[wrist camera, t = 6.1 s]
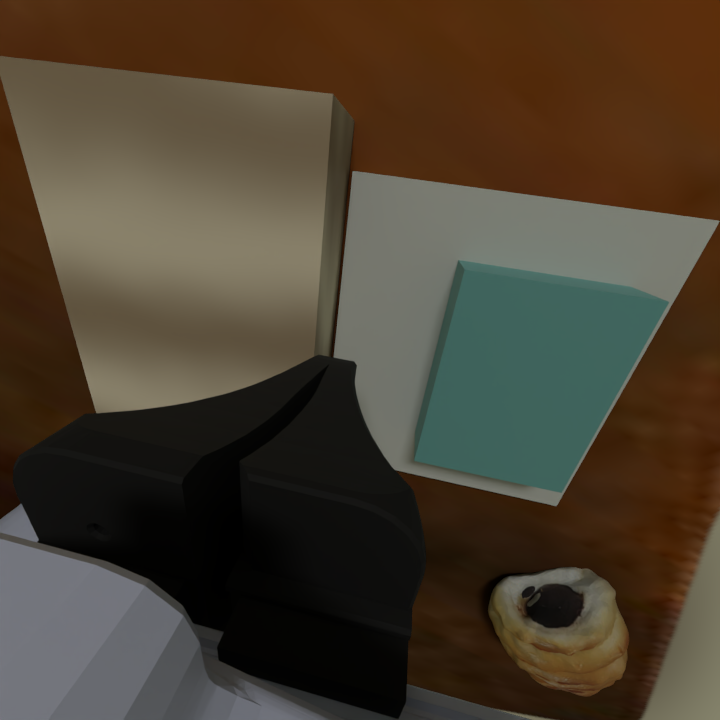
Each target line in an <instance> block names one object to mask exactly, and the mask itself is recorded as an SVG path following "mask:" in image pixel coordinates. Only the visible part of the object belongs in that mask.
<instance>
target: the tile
mask: <svg viewBox="0 0 720 720" xmlns="http://www.w3.org/2000/svg"><path fill="white" fill-rule="evenodd" d="M668 304H669V302H668V301H666V300H663V299H661V298H658V297H656V296H653V295H651V294H648V293H646V292H643V291H641V290H638V289H635V288H633V287H629V286H623V285H617V284H610V283H604V282H597V281H591V280H584V279H578V278H571V277H565V276H559V275H552V274H546V273H539V272H533V271H526V270H520V269H514V268H507V267H501V266H494V265H488V264H481V263H475V262H468V261H462V260H458V263H457V267H456V271H455V275H454V279H453V283H452V287H451V291H450V295H449V299H448V303H447V307H446V311H445V315H444V319H443V323H442V327H441V331H440V335H439V339H438V343H437V347H436V351H435V355H434V358H433V362H432V366H431V370H430V374H429V378H428V382H427V386H426V390H425V394H424V398H423V402H422V406H421V410H420V414H419V418H418V422H417V426H416V430H415V449H414V461H417V462H421V463H426V464H430V465H435V466H440V467H444V468H449V469H453V470H458V471H463V472H467V473H472V474H476V475H481V476H486V477H490V478H495V479H500V480H504V481H509V482H513V483H518V484H523V485H527V486H532V487H536V488H541V489H546V490H550V491H555V492H559V493H562V491H563V490H564V488H565V486H566V484H567V483H568V481H569V479H570V477H571V475H572V474H573V472H574V470H575V468H576V467H577V465H578V463H579V461H580V459H581V458H582V456H583V454H584V452H585V451H586V449H587V447H588V445H589V444H590V442H591V440H592V438H593V436H594V435H595V433H596V431H597V429H598V428H599V426H600V424H601V422H602V420H603V419H604V417H605V415H606V413H607V412H608V410H609V408H610V406H611V405H612V403H613V401H614V399H615V397H616V396H617V394H618V392H619V390H620V389H621V387H622V385H623V383H624V382H625V380H626V378H627V376H628V374H629V373H630V371H631V369H632V367H633V366H634V364H635V362H636V360H637V358H638V357H639V355H640V353H641V351H642V350H643V348H644V346H645V344H646V343H647V341H648V339H649V337H650V335H651V334H652V332H653V330H654V328H655V327H656V325H657V323H658V321H659V319H660V318H661V316H662V314H663V312H664V311H665V309H666V307H667V305H668Z"/></svg>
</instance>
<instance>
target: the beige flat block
mask: <svg viewBox="0 0 720 720" xmlns="http://www.w3.org/2000/svg"><path fill="white" fill-rule="evenodd" d="M0 76H1V79H2V83H3V86H4V90H5V93H6V97H7V100H8V104H9V107H10V111H11V114H12V118H13V122H14V125H15V129H16V132H17V136H18V139H19V143H20V146H21V150H22V153H23V157H24V160H25V164H26V167H27V171H28V174H29V178H30V181H31V185H32V188H33V192H34V195H35V199H36V202H37V206H38V209H39V213H40V217H41V220H42V224H43V227H44V231H45V234H46V238H47V241H48V245H49V248H50V252H51V255H52V259H53V262H54V266H55V269H56V273H57V276H58V280H59V283H60V287H61V290H62V294H63V297H64V301H65V304H66V308H67V312H68V315H69V319H70V322H71V326H72V329H73V333H74V336H75V340H76V343H77V347H78V350H79V354H80V357H81V361H82V364H83V368H84V371H85V375H86V378H87V382H88V385H89V389H90V392H91V396H92V399H93V403H94V407H95V410H96V413H107V412H119V411H131V410H141V409H150V408H157V407H164V406H171V405H177V404H182V403H188V402H193V401H197V400H202V399H206V398H210V397H214V396H219V395H223V394H226V393H230V392H233V391H236V390H239V389H242V388H245V387H248V386H251V385H254V384H256V383H259V382H261V381H264V380H266V379H268V378H271V377H273V376H275V375H278V374H280V373H282V372H284V371H286V370H288V369H290V368H292V367H294V366H296V365H298V364H300V363H302V362H304V361H306V360H308V359H310V358H312V357H314V356H317V355H323V356H329V357H331V353H332V343H333V333H334V322H335V312H336V302H337V292H338V282H339V272H340V262H341V251H342V241H343V231H344V221H345V211H346V201H347V191H348V180H349V170H350V160H351V150H352V140H353V130H354V120H353V118H352V117H351V116H350V115H349V113H348V112H347V111H346V110H345V108H344V107H343V106H342V105H341V103H340V102H339V101H338V100H337V99H336V97H335V96H334V95H333V94H327V93H318V92H310V91H301V90H292V89H283V88H275V87H266V86H257V85H248V84H240V83H231V82H222V81H213V80H204V79H196V78H187V77H178V76H169V75H161V74H152V73H143V72H134V71H126V70H117V69H108V68H99V67H91V66H82V65H73V64H64V63H55V62H47V61H38V60H29V59H20V58H12V57H3V56H0Z"/></svg>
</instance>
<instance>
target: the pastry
mask: <svg viewBox="0 0 720 720" xmlns="http://www.w3.org/2000/svg"><path fill="white" fill-rule="evenodd" d="M615 595H616V592H615V590H614V589H613V588H612V587H611V585H610V584H609V583H608V582H607V581H606V580H604V579H603V578H601V577H599V576H597V575H596V574H595V573H594V572H593V571H591V570H589V569H578V568H575V567H567V568H555V569H550V570H544V571H540V572H536V573H531V574H518V575H511V576H507V577H505V578H503V579H502V580H501V581H500V582H498V583H497V585H496V586H495V587H494V589H493V591H492V594H491V598H490V602H489V607H488V613H489V617H490V619H491V620H492V623H493V626H494V629H495V632H496V634H497V635H498V637H499V638H500V641H501V643H502V645H503V647H504V648H505V650H506V651H507V653H508V655H509V656H510V657H511V658H512V659H513V660H514V661H515V662H516V663H517V665H518V666H519V667H520V668H521V669H524V670H526V671H527V672H528V673H529V675H530V676H531V677H532V678H533V679H534V680H535V681H537V682H538V683H540V684H542V685H544V686H546V687H548V688H551V689H560V690H563V691H568V692H572V693H574V694H576V695H580V696H591V695H593V694H596V693H597V692H599V691H600V690H601V689H602V688H605V687H609V686H611V685H613V684H614V682H615V680H620V679H621V678H622V675H623V672H624V671H625V667H626V662H627V647H628V644H629V635H628V630H627V627H626V625H625V623H624V620H623V618H622V616H621V614H620V612H619V610H618V607H617V604H616V601H615Z"/></svg>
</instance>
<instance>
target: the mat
mask: <svg viewBox="0 0 720 720" xmlns="http://www.w3.org/2000/svg"><path fill="white" fill-rule="evenodd" d="M719 222H720V221H716V220H709V219H701V218H694V217H687V216H679V215H672V214H665V213H657V212H650V211H643V210H635V209H628V208H621V207H613V206H606V205H599V204H591V203H584V202H577V201H570V200H562V199H555V198H548V197H540V196H533V195H526V194H518V193H511V192H504V191H496V190H489V189H482V188H474V187H467V186H460V185H452V184H445V183H438V182H430V181H423V180H416V179H408V178H401V177H394V176H386V175H379V174H372V173H364V172H357V171H353V173H352V183H351V193H350V203H349V212H348V222H347V232H346V242H345V251H344V261H343V271H342V281H341V290H340V300H339V310H338V320H337V329H336V339H335V349H334V358H339V359H344V360H349V361H354V362H355V363H356V365H357V368H356V376H355V388H356V394H357V398H358V402H359V406H360V409H361V412H362V415H363V418H364V420H365V422H366V425H367V427H368V429H369V431H370V433H371V435H372V437H373V439H374V440H375V442H376V444H377V445H378V447H379V449H380V450H381V452H382V454H383V455H384V457H385V458H386V459H387V461H388V462H389V464H390V465H391V466H392V468H393V469H394V470H397V471H401V472H406V473H410V474H415V475H419V476H424V477H428V478H433V479H437V480H442V481H446V482H451V483H455V484H460V485H464V486H469V487H473V488H478V489H482V490H486V491H491V492H495V493H500V494H504V495H509V496H513V497H518V498H522V499H527V500H531V501H536V502H540V503H545V504H549V505H554V506H557V504H558V502H559V501H560V499H561V497H562V495H563V494H564V492H565V490H566V489H567V487H568V485H569V483H570V482H571V480H572V478H573V476H574V475H575V473H576V471H577V469H578V468H579V466H580V464H581V462H582V461H583V459H584V457H585V455H586V454H587V452H588V450H589V448H590V447H591V445H592V443H593V441H594V440H595V438H596V436H597V434H598V433H599V431H600V429H601V427H602V426H603V424H604V422H605V420H606V419H607V417H608V415H609V413H610V412H611V410H612V408H613V407H614V405H615V403H616V401H617V400H618V398H619V396H620V394H621V393H622V391H623V389H624V387H625V386H626V384H627V382H628V380H629V379H630V377H631V375H632V373H633V372H634V370H635V368H636V366H637V365H638V363H639V361H640V359H641V358H642V356H643V354H644V352H645V351H646V349H647V347H648V345H649V344H650V342H651V340H652V338H653V337H654V335H655V333H656V331H657V330H658V328H659V326H660V325H661V323H662V321H663V319H664V318H665V316H666V314H667V312H668V311H669V309H670V307H671V305H672V304H673V302H674V300H675V298H676V297H677V295H678V293H679V291H680V290H681V288H682V286H683V284H684V283H685V281H686V279H687V277H688V276H689V274H690V272H691V270H692V269H693V267H694V265H695V263H696V262H697V260H698V258H699V256H700V255H701V253H702V251H703V250H704V248H705V246H706V244H707V243H708V241H709V239H710V237H711V236H712V234H713V232H714V230H715V229H716V227H717V225H718V223H719ZM458 260H462V261H468V262H475V263H481V264H488V265H494V266H501V267H507V268H514V269H520V270H526V271H533V272H539V273H546V274H552V275H559V276H565V277H571V278H578V279H584V280H591V281H597V282H604V283H610V284H617V285H623V286H629V287H633V288H635V289H638V290H641V291H643V292H646V293H648V294H651V295H653V296H656V297H658V298H661V299H663V300H666V301H668V302H669V304H668V305H667V307H666V309H665V311H664V312H663V314H662V316H661V318H660V319H659V321H658V323H657V325H656V327H655V328H654V330H653V332H652V334H651V335H650V337H649V339H648V341H647V343H646V344H645V346H644V348H643V350H642V351H641V353H640V355H639V357H638V358H637V360H636V362H635V364H634V366H633V367H632V369H631V371H630V373H629V374H628V376H627V378H626V380H625V382H624V383H623V385H622V387H621V389H620V390H619V392H618V394H617V396H616V397H615V399H614V401H613V403H612V405H611V406H610V408H609V410H608V412H607V413H606V415H605V417H604V419H603V420H602V422H601V424H600V426H599V428H598V429H597V431H596V433H595V435H594V436H593V438H592V440H591V442H590V444H589V445H588V447H587V449H586V451H585V452H584V454H583V456H582V458H581V459H580V461H579V463H578V465H577V467H576V468H575V470H574V472H573V474H572V475H571V477H570V479H569V481H568V483H567V484H566V486H565V488H564V490H563V491H562V493H559V492H555V491H550V490H546V489H541V488H536V487H532V486H527V485H523V484H518V483H513V482H509V481H504V480H500V479H495V478H490V477H486V476H481V475H476V474H472V473H467V472H463V471H458V470H453V469H449V468H444V467H440V466H435V465H430V464H426V463H421V462H417V461H414V449H415V430H416V426H417V422H418V418H419V414H420V410H421V406H422V402H423V398H424V394H425V390H426V386H427V382H428V378H429V374H430V370H431V366H432V362H433V358H434V355H435V351H436V347H437V343H438V339H439V335H440V331H441V327H442V323H443V319H444V315H445V311H446V307H447V303H448V299H449V295H450V291H451V287H452V283H453V279H454V275H455V271H456V267H457V263H458Z"/></svg>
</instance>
